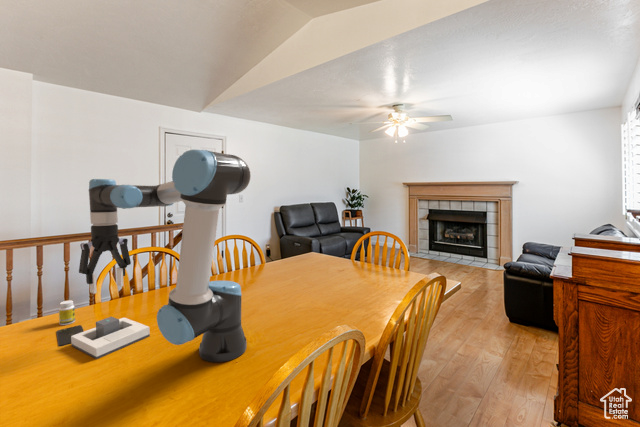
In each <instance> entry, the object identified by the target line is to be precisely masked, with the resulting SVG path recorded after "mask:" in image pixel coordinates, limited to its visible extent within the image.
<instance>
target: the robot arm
mask: <svg viewBox="0 0 640 427" xmlns="http://www.w3.org/2000/svg"><path fill="white" fill-rule="evenodd" d="M172 168H173V169H172V173H171V174H172V176H171V178H172V179H171V180H172V181H168V182H167V181H166V182H163V183H160V184H158V185H132V184H117V182H116V180H115V179H111V178H109V179H107V178H93V179H90V180H89V182H88V183H89V184H88V185H89V186H88V197H89V210H90V211H89V212H90V213H89V214H90V215H89V216H90V217H89V219H90V224H91V226H90V236H91V239H90V241H88V242H86V243H84V242H83V243H82V242H81V244H80V249H81V253H80V261H79V268H78V273H79V274H83V275H85V277H86V278H85V280H86V283H87V285H89V293H90V294H94V295H95V294H97V292H98V290H97V274H96V273H94V272H95V270H96V267H97V264H98V262H99V260H100V257H101V255H102V254H103V253H104V252H107V251H109V252H110V253H111V255H112V257H113V259H114V261H115V262H116V264H117V265H118V266H117V267H116V268H115V269H116V271H115V272H116V285H117V286H118V287H124V277H126V268H127V267H128V266H130V265H131V262H132V261H131V256H130V253H129V248H128V241H129V239H128V238H123V237H121V238H119V236H118V235H119V225H118V222H119V221H118V209H125V210H126V209H134V208H148V207H149V208H151V207H154V208H155V207H161V208H162V207H170V206H173V205H174V204H175V203H180V202H182V203H183V204H185V209H184V216H183V217H184V218H183V225H182V226H183V227H182V233H181V234H182V235H181V242H180V243H181V244H180V250H179V251H180V252H179V257H178V258H179V260H178V269H177V278H176V287H174V288H173V289H171V290H170V292H169V294H168V301H167V304H163V305H162V307H160V308H159V309H158V311H157V313H156V322H157V327H158V329H159V330H158V331H160V333H161V335H162V336H163V337H164V339H165V340H166V341H168V342H169V343H171V344H172V345H174V346H180V345H184V344H186V343H189V342H191V341H193V340H195V338H197V337H200V336H201V335H202V338H201V342H200V343H199V347H198V349H199V350H198V351H199V352H198V355H199V357H200V358H201V359H202V360H203V361H206V362H209V363H222V362H228V361H231V360H234V359H237V358H239V357H240V356H242V355H243V354H245V352H246V351H247V343H248V342H247V338H246V336H245V332H244V329H243V327H242V326H243V325H242V294H243V293H242V287H241V285H240V284H239V283H238V282H235V281H231V280H211V281H210V279H211V274H212V273H211V272H212V264H213V257H214V250H215V243H216V236H217V227H218V222H219V220H218V219H219V214H220V213H219V212H220V209H221V208H222V207H224V206H226V204H227V198H228V196H229V195H236V194H240V193H242V192H243V191H244V190H246V189H247V188H248V186H249V184H250V181H251V171H250V168H249V165H248V164H247V163H246V161H244V160H243V159H242V158H241V157H239V156H237V155H235V154H229V153H228V154H227V153H222V152H216V151H212V150H211V151H210V150H207V149H189V150H186V151H185V152H183V153H182V154H181V155H179V157H178V158H177V159H176V161H175V163H174V164H173V167H172ZM227 195H228V196H227ZM117 244H119V249H120V252H121V254H120V252H119V249H118V247H117ZM92 247H93V251H92V254H91V258H90V249H91V248H92Z"/></svg>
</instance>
